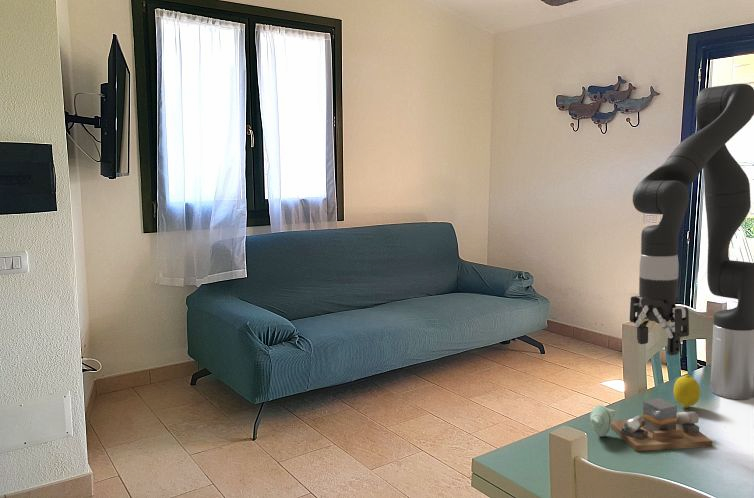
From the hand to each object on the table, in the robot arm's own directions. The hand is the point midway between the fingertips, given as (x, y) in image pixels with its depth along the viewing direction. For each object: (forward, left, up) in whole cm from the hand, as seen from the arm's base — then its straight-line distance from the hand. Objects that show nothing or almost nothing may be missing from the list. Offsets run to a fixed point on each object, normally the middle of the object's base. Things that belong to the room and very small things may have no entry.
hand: (657, 348), depth 127 cm
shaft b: (+7, +5, -17) cm, 19 cm away
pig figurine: (+13, +3, -18) cm, 23 cm away
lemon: (-13, -9, -18) cm, 24 cm away
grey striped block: (+1, +4, -17) cm, 17 cm away
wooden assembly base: (+1, +4, -18) cm, 18 cm away
